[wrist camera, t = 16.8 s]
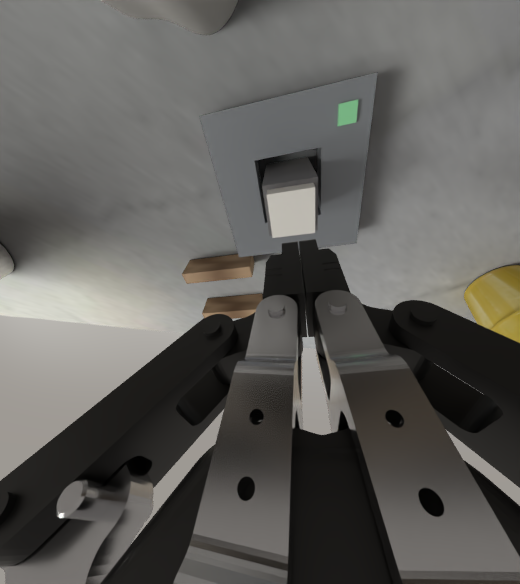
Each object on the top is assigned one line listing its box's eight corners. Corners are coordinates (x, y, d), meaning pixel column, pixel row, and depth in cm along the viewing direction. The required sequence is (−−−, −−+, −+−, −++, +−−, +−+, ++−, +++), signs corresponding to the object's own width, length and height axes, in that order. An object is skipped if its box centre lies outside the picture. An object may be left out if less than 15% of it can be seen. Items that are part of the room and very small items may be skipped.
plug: (272, 204, 22) (269, 242, 16) (266, 163, 19) (261, 190, 13) (308, 198, 21) (319, 236, 15) (307, 156, 19) (320, 181, 13)
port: (242, 246, 25) (238, 258, 23) (207, 114, 17) (198, 116, 15) (350, 231, 23) (357, 244, 21) (365, 76, 15) (379, 71, 13)
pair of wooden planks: (210, 305, 32) (205, 320, 30) (190, 259, 27) (181, 274, 25) (263, 300, 31) (262, 316, 28) (252, 252, 25) (249, 266, 23)
